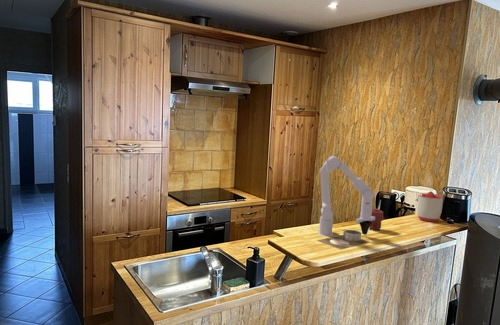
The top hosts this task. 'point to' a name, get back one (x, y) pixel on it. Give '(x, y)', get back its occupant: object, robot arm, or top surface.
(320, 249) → the top surface
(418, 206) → the citrus juicer
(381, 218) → the mechanical component
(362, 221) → the robot arm
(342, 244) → the seat board
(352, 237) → the steel bearing ring
